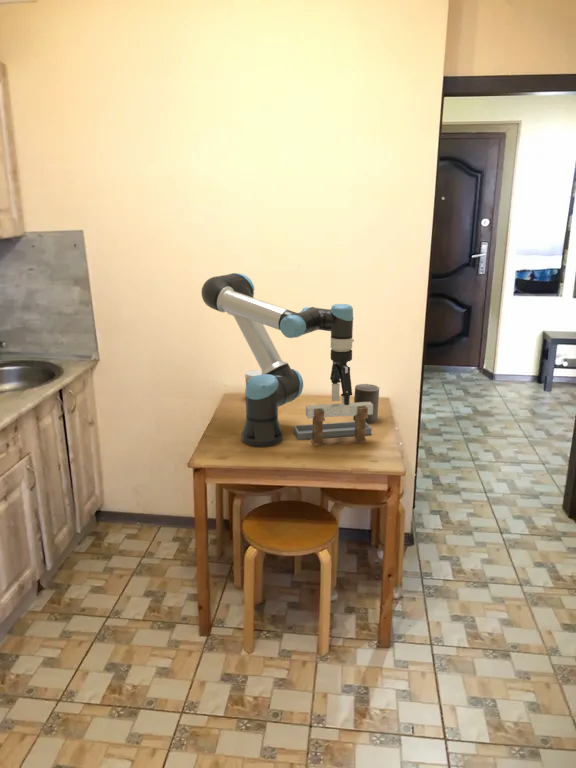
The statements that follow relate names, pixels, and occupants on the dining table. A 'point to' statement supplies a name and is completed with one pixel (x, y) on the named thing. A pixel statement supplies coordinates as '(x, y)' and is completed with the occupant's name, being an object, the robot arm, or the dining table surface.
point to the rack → (358, 438)
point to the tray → (329, 430)
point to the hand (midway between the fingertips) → (340, 406)
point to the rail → (338, 409)
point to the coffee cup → (252, 374)
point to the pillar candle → (368, 399)
